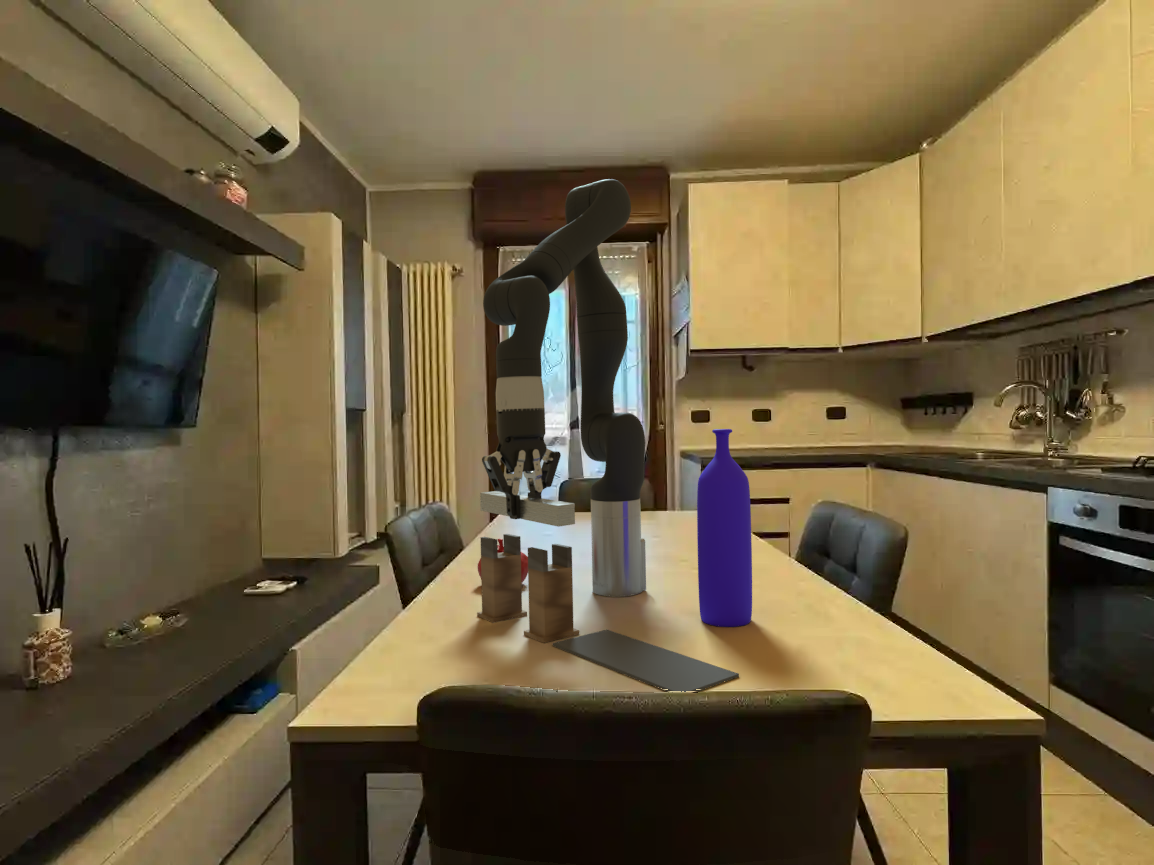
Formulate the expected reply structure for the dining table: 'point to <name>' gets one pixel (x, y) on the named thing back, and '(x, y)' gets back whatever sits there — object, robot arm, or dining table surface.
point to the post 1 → (501, 579)
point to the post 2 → (550, 594)
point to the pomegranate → (523, 561)
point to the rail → (531, 508)
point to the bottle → (724, 540)
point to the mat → (646, 661)
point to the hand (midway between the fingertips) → (524, 516)
